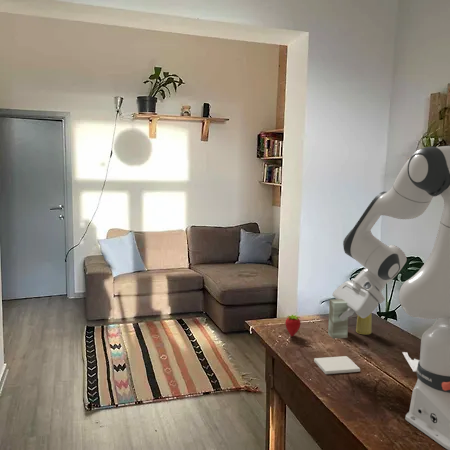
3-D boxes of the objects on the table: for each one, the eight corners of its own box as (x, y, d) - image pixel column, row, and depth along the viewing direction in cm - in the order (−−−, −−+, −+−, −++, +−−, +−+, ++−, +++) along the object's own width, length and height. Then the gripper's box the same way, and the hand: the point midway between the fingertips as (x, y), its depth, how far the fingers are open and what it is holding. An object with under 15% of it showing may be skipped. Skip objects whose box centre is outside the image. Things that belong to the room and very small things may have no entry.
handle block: (347, 337, 150) (349, 302, 148) (332, 338, 149) (334, 303, 147) (342, 333, 154) (343, 298, 152) (328, 334, 153) (329, 299, 151)
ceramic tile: (360, 371, 149) (360, 368, 148) (325, 374, 146) (325, 371, 146) (346, 358, 158) (346, 356, 158) (314, 361, 156) (314, 358, 156)
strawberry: (299, 333, 182) (300, 309, 181) (300, 340, 175) (301, 315, 173) (284, 332, 183) (285, 308, 181) (285, 339, 175) (285, 314, 174)
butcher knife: (417, 355, 163) (417, 352, 163) (429, 374, 148) (429, 371, 148) (402, 354, 164) (402, 351, 164) (413, 373, 149) (413, 369, 149)
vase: (372, 335, 180) (374, 300, 179) (356, 334, 182) (357, 299, 180) (370, 330, 186) (372, 296, 184) (355, 328, 188) (356, 295, 186)
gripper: (346, 272, 160) (318, 300, 160) (375, 288, 140) (343, 320, 140) (357, 284, 161) (330, 312, 161) (387, 301, 141) (356, 333, 141)
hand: (336, 316), depth 150 cm, fingers closed on handle block, 4 cm apart
